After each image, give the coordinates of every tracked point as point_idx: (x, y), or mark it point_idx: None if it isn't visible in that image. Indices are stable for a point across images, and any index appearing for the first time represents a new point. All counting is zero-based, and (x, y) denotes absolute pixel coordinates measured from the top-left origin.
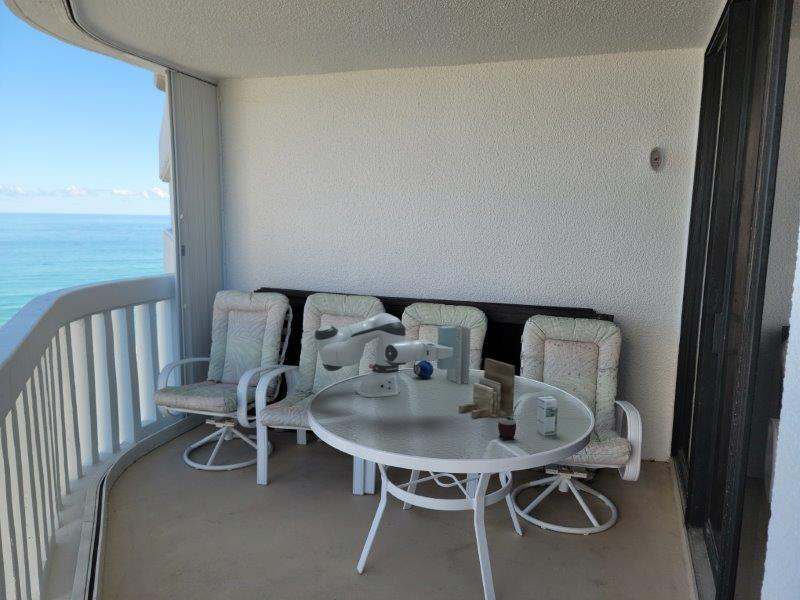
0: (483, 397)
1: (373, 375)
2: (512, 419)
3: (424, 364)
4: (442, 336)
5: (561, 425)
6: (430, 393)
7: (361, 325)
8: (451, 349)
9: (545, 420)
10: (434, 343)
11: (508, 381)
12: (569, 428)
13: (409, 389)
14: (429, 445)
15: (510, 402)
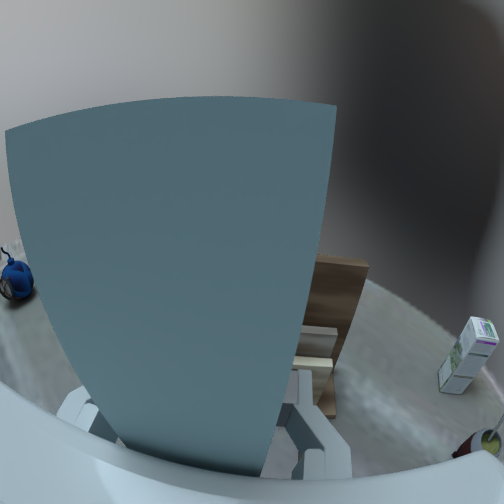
0: None
1: None
2: (487, 431)
3: (13, 273)
4: (242, 385)
5: (416, 339)
6: (65, 371)
7: None
8: (501, 471)
9: (477, 372)
10: (82, 464)
11: (345, 309)
12: (431, 339)
13: (14, 370)
14: None
15: (339, 352)
